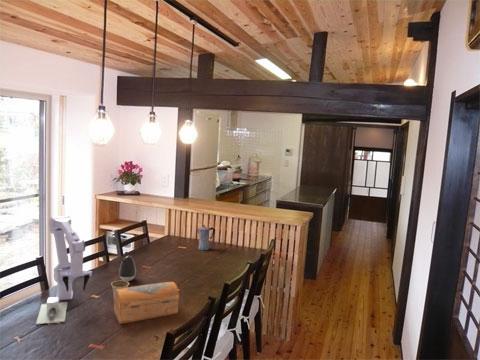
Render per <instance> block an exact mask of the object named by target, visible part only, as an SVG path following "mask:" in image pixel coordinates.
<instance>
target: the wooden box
mask: <svg viewBox="0 0 480 360" xmlns="http://www.w3.org/2000/svg"><path fill="white" fill-rule="evenodd" d="M179 303H180V292H179V288H178V286H177V284H176V282H174V281H166V282H165V281H164V282H157V283H149V284H143V285H135V286H130V287H129V286H128V288H122V289H116V290H115V293H114V298H113V312H114V315H115V316H116V317H115V318H116V319H117V321H118V323H119V324H120V325H122V324H127V323H128V324H129V323H132V322H140V321H143V320H149V319H150V320H151V319H155V318H160V317H165V316H171V315H176V314H178V313H179Z"/></svg>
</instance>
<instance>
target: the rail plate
mask: <svg viewBox="0 0 480 360" xmlns="http://www.w3.org/2000/svg"><path fill="white" fill-rule="evenodd" d="M66 310H68V301H64V302H59V311H58V314H55V308H51V309H50V314H49V315H47V303H41V305H40V308H39V311H38V312H39V313H38V316H37V319H36V321H35V322H36V323H35V325H36V324H44V323H57V324H61V323H60V322H65V323H66V317H67V311H66Z"/></svg>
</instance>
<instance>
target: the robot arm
mask: <svg viewBox="0 0 480 360" xmlns="http://www.w3.org/2000/svg"><path fill="white" fill-rule="evenodd" d="M48 221H49V222H48V226H49V230H50V231H49V232H50V234H52V235H53V236H54V242H55V243H54V244H55V247H56V248H55V249H56V255H57V262H58V264H57V265H56V266H55V267H54V268H53V279H54V282H55V283H57V286H56V287H57V288H56V296H55V297H59V301H63V300H65V301H66V300H72V299H73V296H74V295H73V294H74V291H73V282H74V280H75V279H76V278H78V277H83V287H82V288H83V289H82V290H83V291H85V290H86V286H87V283H88V281H89V279H90V277H92V275H93V273H92V272H93V271H91V270H83V269H84V264H83V263H84V252H85V251H86V243H85V240H84V239H80V237H79V236H78V233H77V232H76V231H74V230H73V229H72V226H71V225H72V219H71V216H70V215H63V216H50V218H49V220H48ZM66 243H67V244H68V249H69V256H70V262H69V258H68V250H67V246H66Z"/></svg>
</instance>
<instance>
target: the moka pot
mask: <svg viewBox="0 0 480 360" xmlns="http://www.w3.org/2000/svg"><path fill="white" fill-rule="evenodd" d="M195 230H196V232H197V234H198V238H199V240H198V246H197V247H198V250H199V251H208V250H209V249H210V245H209V239H210V240H211V239H213V236H214V233H215V228H213V227H207V226H206V225H205V224H203V225H202V226H201V227H197V228H195ZM210 231H212V233H211V236H210ZM209 236H210V237H209Z"/></svg>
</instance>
